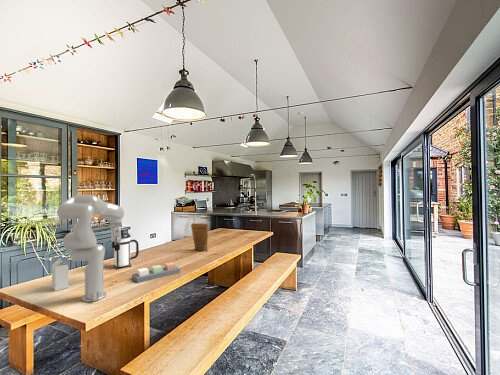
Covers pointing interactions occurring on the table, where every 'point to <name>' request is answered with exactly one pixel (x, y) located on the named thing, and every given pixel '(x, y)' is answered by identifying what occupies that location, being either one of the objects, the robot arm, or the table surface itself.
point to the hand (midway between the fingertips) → (115, 249)
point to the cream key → (142, 272)
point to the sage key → (156, 269)
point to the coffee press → (124, 251)
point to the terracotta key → (169, 266)
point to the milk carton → (59, 275)
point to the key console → (155, 274)
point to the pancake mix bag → (200, 236)
